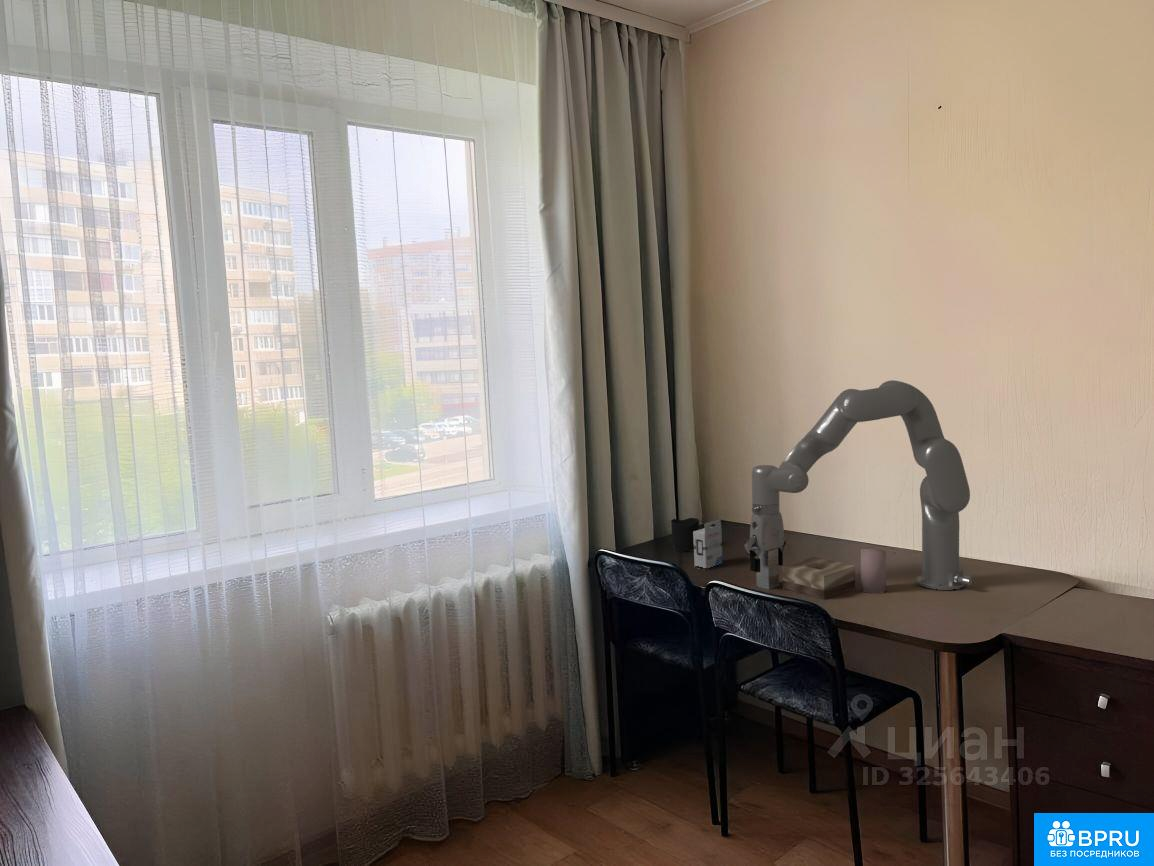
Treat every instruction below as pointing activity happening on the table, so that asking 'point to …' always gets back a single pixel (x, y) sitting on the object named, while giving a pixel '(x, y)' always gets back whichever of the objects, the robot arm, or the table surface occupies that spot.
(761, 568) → the square peg
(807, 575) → the bore block
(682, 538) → the pen holder
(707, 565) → the ink box
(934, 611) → the table surface
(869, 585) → the round peg
